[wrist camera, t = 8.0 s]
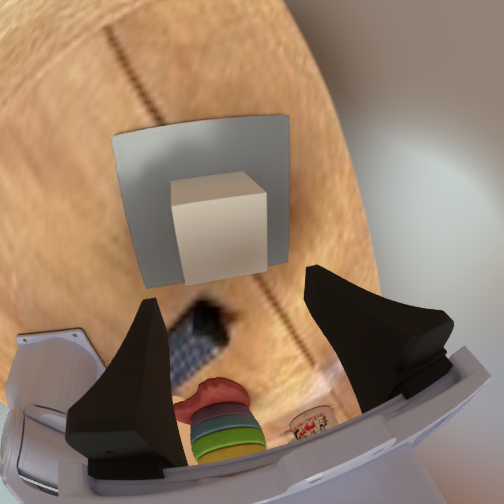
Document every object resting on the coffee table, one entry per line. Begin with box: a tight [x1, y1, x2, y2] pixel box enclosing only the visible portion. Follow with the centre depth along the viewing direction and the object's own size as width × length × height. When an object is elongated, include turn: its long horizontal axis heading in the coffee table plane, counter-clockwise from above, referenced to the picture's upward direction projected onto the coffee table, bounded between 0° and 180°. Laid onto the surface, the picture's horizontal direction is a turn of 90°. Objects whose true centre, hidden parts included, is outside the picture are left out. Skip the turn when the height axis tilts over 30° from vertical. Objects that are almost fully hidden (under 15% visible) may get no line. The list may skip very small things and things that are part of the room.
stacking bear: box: [173, 378, 266, 465], centre depth 27 cm, size 11×10×18 cm
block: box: [171, 171, 267, 286], centre depth 17 cm, size 5×5×5 cm
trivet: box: [111, 115, 290, 289], centre depth 20 cm, size 12×12×1 cm
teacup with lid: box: [288, 406, 339, 443], centre depth 41 cm, size 12×9×12 cm
